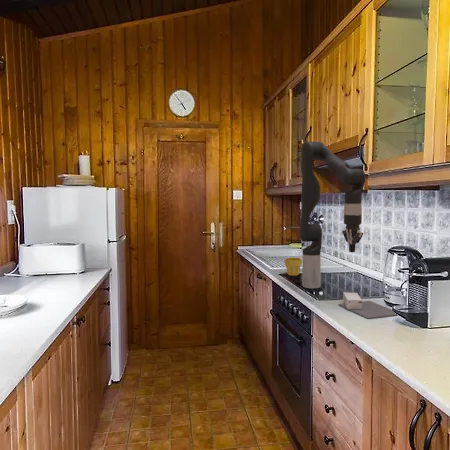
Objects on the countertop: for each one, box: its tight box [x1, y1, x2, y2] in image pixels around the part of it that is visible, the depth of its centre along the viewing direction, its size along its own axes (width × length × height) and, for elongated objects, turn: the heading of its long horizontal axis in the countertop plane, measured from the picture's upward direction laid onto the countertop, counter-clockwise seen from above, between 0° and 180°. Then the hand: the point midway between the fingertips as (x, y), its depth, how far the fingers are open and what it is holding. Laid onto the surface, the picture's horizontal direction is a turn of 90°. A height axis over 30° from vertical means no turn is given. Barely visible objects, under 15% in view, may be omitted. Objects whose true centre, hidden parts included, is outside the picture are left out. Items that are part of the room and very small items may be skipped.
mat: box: [338, 300, 397, 320], centre depth 158 cm, size 20×16×1 cm
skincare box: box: [342, 291, 363, 310], centre depth 163 cm, size 6×4×12 cm
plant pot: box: [284, 257, 303, 277], centre depth 233 cm, size 10×10×10 cm
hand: (352, 252), depth 171 cm, fingers closed
